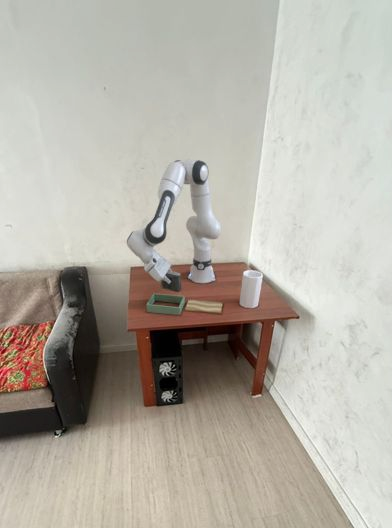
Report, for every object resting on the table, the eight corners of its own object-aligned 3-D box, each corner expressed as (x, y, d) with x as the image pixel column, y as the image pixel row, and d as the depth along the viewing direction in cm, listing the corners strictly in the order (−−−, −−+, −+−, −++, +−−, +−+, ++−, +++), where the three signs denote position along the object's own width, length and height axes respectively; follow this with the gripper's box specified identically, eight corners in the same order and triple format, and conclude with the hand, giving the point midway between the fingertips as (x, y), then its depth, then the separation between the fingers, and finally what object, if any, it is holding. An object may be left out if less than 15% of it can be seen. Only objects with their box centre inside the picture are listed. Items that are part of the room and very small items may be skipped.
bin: (153, 300, 172) (153, 293, 169) (184, 303, 170) (184, 296, 167) (146, 312, 160) (146, 304, 158) (179, 315, 158) (179, 307, 156)
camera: (183, 289, 159) (182, 272, 153) (177, 294, 155) (177, 276, 149) (164, 285, 163) (163, 268, 157) (159, 289, 159) (158, 272, 153)
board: (188, 300, 172) (188, 299, 172) (222, 304, 170) (222, 302, 169) (185, 310, 163) (185, 309, 162) (220, 314, 160) (220, 312, 160)
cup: (243, 309, 165) (247, 278, 154) (236, 300, 174) (239, 270, 163) (261, 307, 168) (266, 276, 157) (253, 298, 176) (257, 269, 165)
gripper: (154, 257, 160) (172, 275, 165) (143, 271, 144) (163, 291, 149) (161, 249, 157) (179, 268, 162) (151, 263, 141) (171, 283, 146)
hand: (171, 279), depth 155 cm, fingers closed on camera, 6 cm apart
